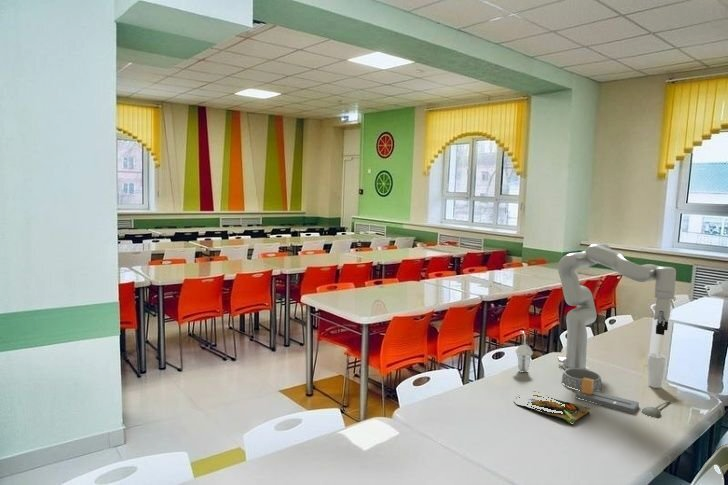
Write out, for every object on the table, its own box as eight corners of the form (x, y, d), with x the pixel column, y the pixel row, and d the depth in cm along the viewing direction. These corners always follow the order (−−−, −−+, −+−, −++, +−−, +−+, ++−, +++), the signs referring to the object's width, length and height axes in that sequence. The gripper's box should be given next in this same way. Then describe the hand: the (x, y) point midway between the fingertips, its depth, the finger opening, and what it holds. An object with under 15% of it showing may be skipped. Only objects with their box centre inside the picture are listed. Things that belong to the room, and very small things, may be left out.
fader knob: (581, 392, 220) (582, 379, 220) (583, 390, 223) (584, 377, 222) (591, 394, 218) (591, 381, 217) (593, 392, 220) (593, 379, 219)
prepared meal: (510, 395, 213) (533, 385, 225) (509, 403, 214) (533, 392, 225) (572, 421, 192) (594, 408, 203) (571, 429, 192) (594, 416, 204)
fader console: (575, 398, 219) (575, 393, 219) (582, 392, 226) (582, 387, 226) (633, 413, 204) (633, 408, 204) (638, 406, 211) (638, 401, 211)
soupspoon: (638, 416, 205) (655, 422, 200) (639, 408, 205) (656, 414, 199) (661, 400, 218) (677, 406, 213) (662, 393, 218) (678, 399, 213)
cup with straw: (513, 373, 250) (515, 334, 248) (515, 367, 258) (517, 329, 256) (531, 375, 247) (533, 336, 245) (532, 369, 255) (534, 331, 253)
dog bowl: (601, 381, 241) (601, 370, 240) (601, 395, 224) (602, 383, 224) (563, 375, 248) (563, 365, 247) (560, 388, 231) (561, 377, 231)
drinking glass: (665, 389, 230) (667, 358, 229) (649, 388, 231) (651, 357, 230) (659, 384, 237) (662, 353, 235) (644, 383, 238) (646, 352, 237)
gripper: (658, 290, 231) (655, 326, 233) (651, 296, 218) (648, 334, 219) (676, 292, 226) (674, 329, 228) (671, 298, 213) (668, 337, 215)
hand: (661, 332), depth 224 cm, fingers open, 9 cm apart
